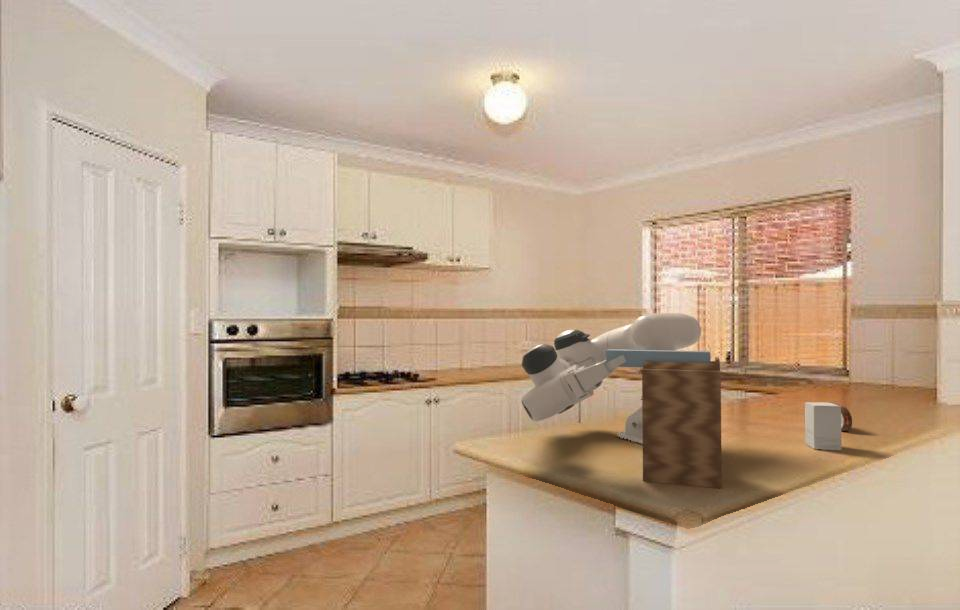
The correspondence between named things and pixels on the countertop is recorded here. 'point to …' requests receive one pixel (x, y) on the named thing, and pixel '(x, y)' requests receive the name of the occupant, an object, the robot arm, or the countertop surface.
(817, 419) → the supplement box
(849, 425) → the brown curved piece
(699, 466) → the stand
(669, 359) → the bar
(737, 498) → the countertop surface
